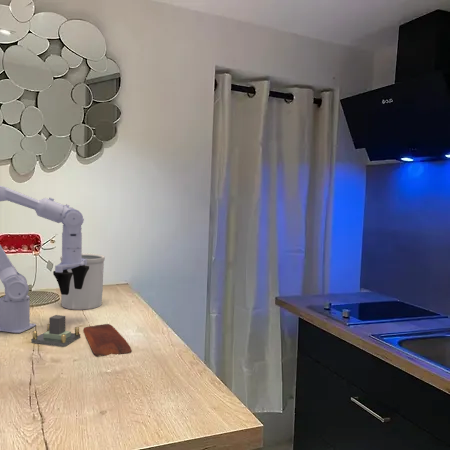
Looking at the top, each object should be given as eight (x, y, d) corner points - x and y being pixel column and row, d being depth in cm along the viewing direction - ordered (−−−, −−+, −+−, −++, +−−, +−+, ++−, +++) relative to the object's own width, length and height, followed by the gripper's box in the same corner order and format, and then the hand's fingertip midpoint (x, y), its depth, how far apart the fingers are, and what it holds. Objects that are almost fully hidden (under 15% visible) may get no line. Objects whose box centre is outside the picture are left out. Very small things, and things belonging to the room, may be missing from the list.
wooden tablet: (133, 355, 123) (134, 349, 123) (94, 360, 119) (94, 353, 119) (113, 325, 147) (113, 320, 147) (80, 328, 143) (80, 323, 143)
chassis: (31, 342, 128) (31, 331, 128) (48, 333, 136) (48, 323, 135) (64, 346, 125) (64, 335, 125) (80, 337, 133) (80, 327, 133)
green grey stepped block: (43, 337, 129) (43, 317, 129) (52, 333, 133) (52, 313, 132) (62, 340, 128) (62, 320, 127) (71, 335, 132) (71, 316, 131)
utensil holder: (86, 297, 178) (86, 251, 176) (112, 304, 169) (113, 256, 167) (51, 305, 166) (51, 255, 164) (78, 313, 157) (78, 261, 155)
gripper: (70, 251, 136) (70, 298, 137) (95, 245, 150) (95, 287, 151) (48, 250, 138) (48, 296, 139) (75, 244, 152) (75, 285, 153)
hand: (71, 291), depth 145 cm, fingers open, 7 cm apart
